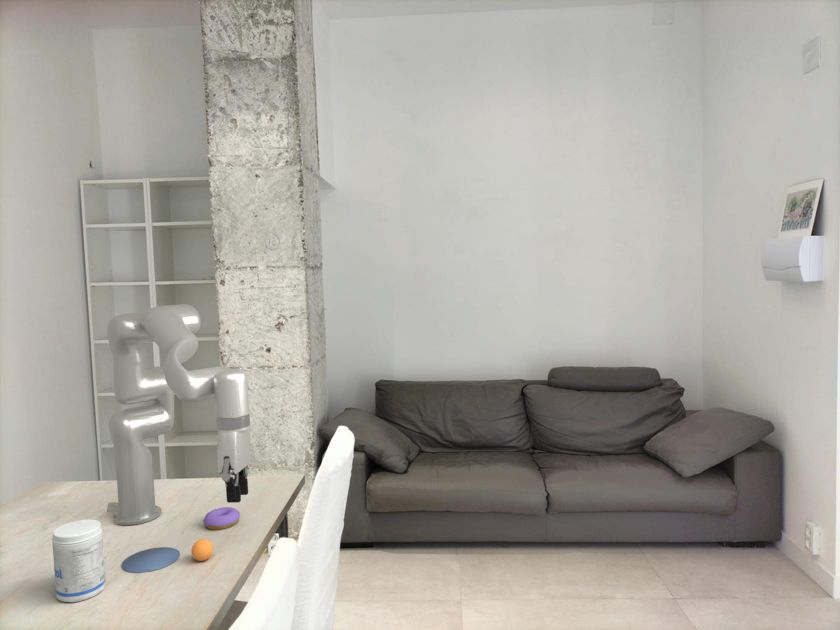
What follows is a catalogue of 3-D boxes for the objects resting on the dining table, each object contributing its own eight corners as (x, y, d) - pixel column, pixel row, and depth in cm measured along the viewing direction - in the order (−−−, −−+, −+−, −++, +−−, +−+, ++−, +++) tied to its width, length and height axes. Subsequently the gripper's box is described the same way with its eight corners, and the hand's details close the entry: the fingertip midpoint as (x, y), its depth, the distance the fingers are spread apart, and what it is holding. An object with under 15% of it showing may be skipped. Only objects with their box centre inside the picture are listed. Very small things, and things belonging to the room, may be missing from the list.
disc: (110, 572, 145) (110, 571, 145) (139, 547, 158) (139, 547, 158) (163, 572, 144) (163, 572, 144) (189, 547, 157) (189, 547, 157)
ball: (188, 564, 148) (187, 544, 147) (197, 555, 153) (196, 535, 152) (208, 564, 147) (207, 544, 147) (217, 555, 152) (216, 535, 152)
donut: (230, 531, 166) (225, 514, 166) (199, 537, 168) (195, 519, 168) (247, 516, 175) (243, 500, 175) (218, 522, 177) (214, 505, 177)
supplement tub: (49, 595, 136) (44, 529, 135) (95, 577, 143) (90, 515, 142) (67, 609, 130) (61, 540, 129) (113, 590, 137) (109, 525, 136)
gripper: (231, 414, 155) (235, 486, 157) (202, 432, 139) (207, 512, 140) (260, 414, 155) (264, 486, 156) (235, 431, 138) (240, 511, 139)
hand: (237, 497), depth 148 cm, fingers open, 4 cm apart
